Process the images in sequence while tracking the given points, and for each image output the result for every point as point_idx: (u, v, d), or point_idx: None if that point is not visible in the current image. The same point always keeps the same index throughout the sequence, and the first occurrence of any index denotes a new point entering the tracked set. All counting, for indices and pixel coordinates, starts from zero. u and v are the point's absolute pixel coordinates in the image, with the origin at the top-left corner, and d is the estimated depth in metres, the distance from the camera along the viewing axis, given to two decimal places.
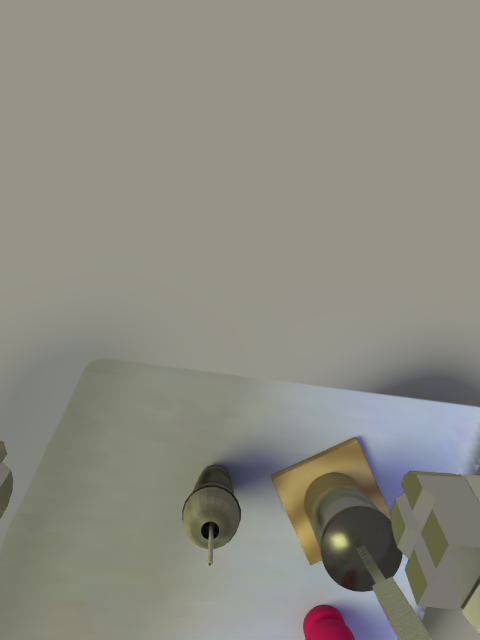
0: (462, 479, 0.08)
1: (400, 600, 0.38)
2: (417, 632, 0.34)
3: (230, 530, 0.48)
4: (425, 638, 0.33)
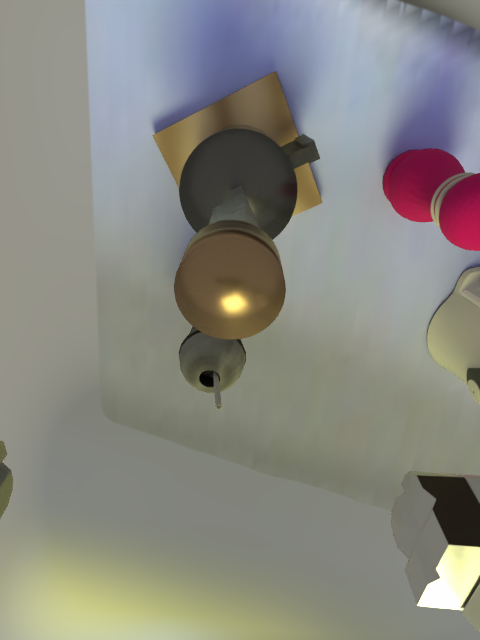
0: (462, 479, 0.08)
1: None
2: None
3: (213, 354, 0.41)
4: None
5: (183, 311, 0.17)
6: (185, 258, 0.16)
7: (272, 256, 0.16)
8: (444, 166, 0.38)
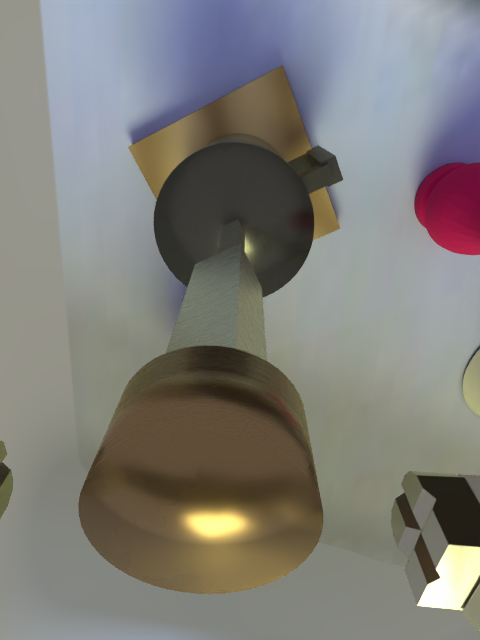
0: (463, 479, 0.08)
1: None
2: None
3: None
4: None
5: (105, 552, 0.08)
6: (96, 468, 0.07)
7: (295, 465, 0.07)
8: None
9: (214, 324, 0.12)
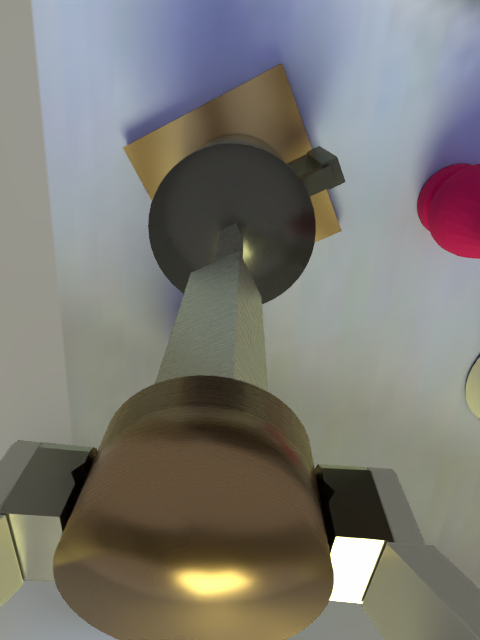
0: (367, 472, 0.08)
1: None
2: None
3: None
4: None
5: (85, 614, 0.07)
6: (72, 528, 0.06)
7: (303, 524, 0.06)
8: None
9: (210, 343, 0.11)
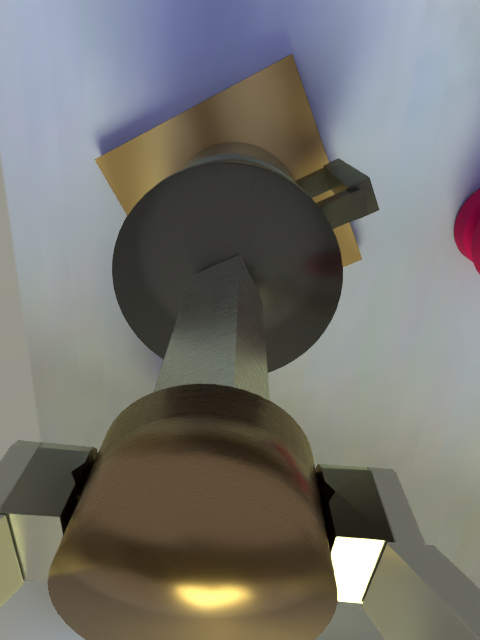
0: (368, 472, 0.08)
1: None
2: None
3: None
4: None
5: (81, 630, 0.07)
6: (67, 544, 0.06)
7: (305, 541, 0.06)
8: None
9: (210, 349, 0.11)
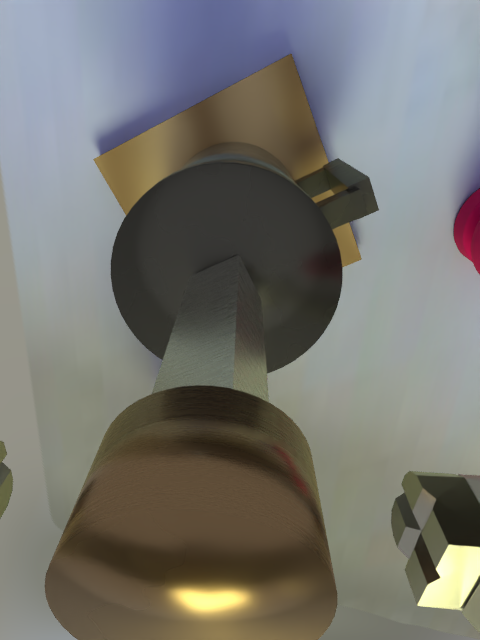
0: (462, 479, 0.08)
1: None
2: None
3: None
4: None
5: (79, 634, 0.07)
6: (64, 548, 0.06)
7: (305, 544, 0.06)
8: None
9: (209, 350, 0.11)
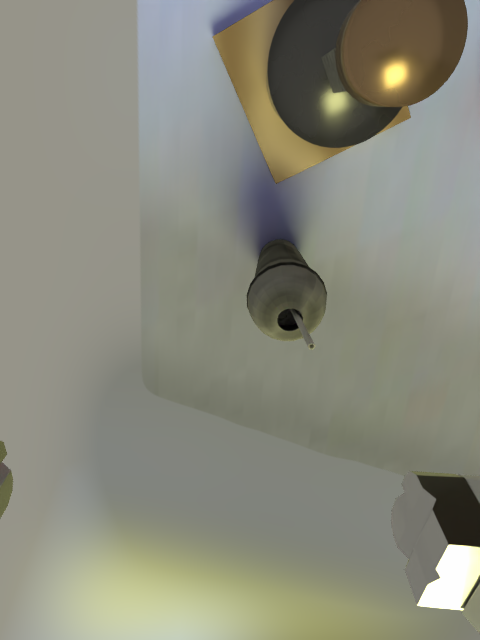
0: (462, 479, 0.08)
1: (332, 61, 0.23)
2: None
3: (295, 290, 0.34)
4: None
5: (353, 70, 0.16)
6: None
7: None
8: None
9: None
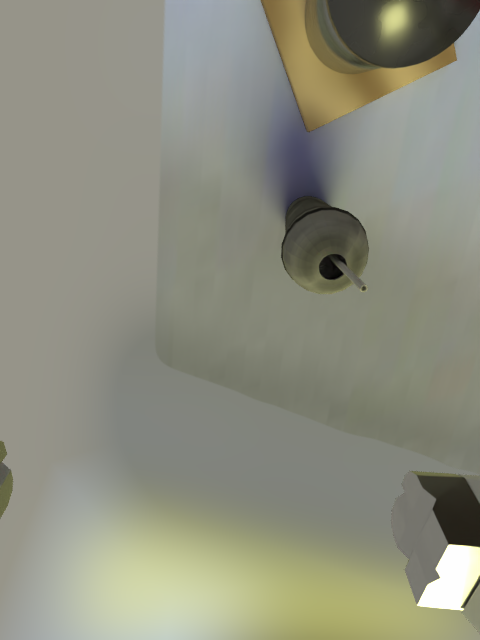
0: (463, 479, 0.08)
1: None
2: None
3: (339, 234, 0.31)
4: None
5: None
6: None
7: None
8: None
9: None
